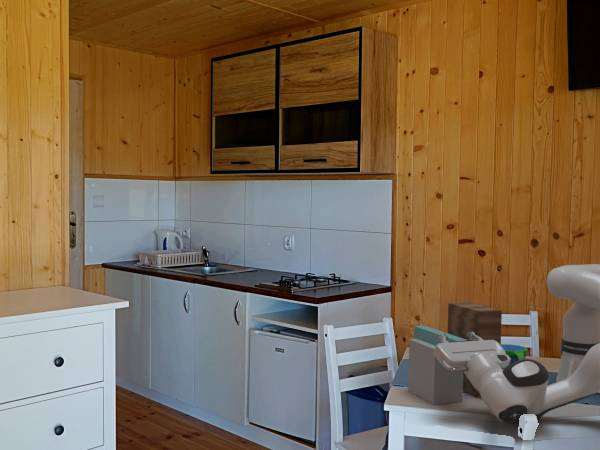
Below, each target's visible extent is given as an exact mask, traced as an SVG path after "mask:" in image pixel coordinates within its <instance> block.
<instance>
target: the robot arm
mask: <svg viewBox="0 0 600 450" xmlns="http://www.w3.org/2000/svg"><path fill="white" fill-rule="evenodd" d="M546 286H547V290H548V291H549V292H550V294H551V295H552V296H554V297H555V298H560V299H563V300H568V301H571V302H573V303H572V305H571V307H570V308H569V309H567V311H566V312H565V314H564V315H563V321H562V338H561V341H560V356H561V358H560V364H559V368H558V372H557V375H556V379H555V382H553V383H551V384H549V385H548V383H549V376H550V375H549V372H548V369H547V368H546V367H545V366H544V364H542V363H540V362H539V361H537V360H535V359H531V358H525V359H521V360H518V361H516V362H514V363H512V364H510V365H509V363H510V360H511V358H510V357H509V356H508V355H506V352H505V351H504V349H503V348H502V346H501V345H500V344H499V343H498V342H497V341H495V340H483V339H482V338H480V337H478V336H477V335H475V334H474V332H468V334H467V337H468V339H469V340H472V341H467V342H452V343H449V342H448V341H446V340H447V338H448V336H447V335H446V334H445V333H446V332H445V333H443V334H440V336H439V339H440V340H441V343H439V344H437V346H436V348H435V350H434V356H435V357H436V359H437V360H438V361H439V362H440V363H441V365H442V366H443V367H444V368H446V369H447V370H450V371H452V372H458V371H460V372H463V371H464V374H465V375H466V377H467V378H468V380H469V381H470V382H471V384H472V385H473V387H474V388H475V389H476V390H477V391H479V393H480V395H481V398H480V399H482V402H483V403H484V405H486V407H487V408H488V410H490V411H491V413H492V414H493V415H494V416H495V417H496V418H497V419H498V420H500V421H502V422H504V423H507V424H508V423H509V424H510V423H517V422H520V420H519V418H520V416H521V415H523V414H535V415H536V416H537V418H538V419H537V420H539V419H540V418H542V417H543V416H544V415H545V414H548V413H549V412H550V411H551V412H552V411H553V410H556V409H559V408H561V407H564V406H567V405H570V404H573V403H576V402H579V401H582V400H584V399H587V398H589V397H592V396H593V395H595V394H600V263H599V264H598V263H593V264H592V263H589V264H567V265H562V266H558V267H555V268H552V269H551V270H550V271H549V273H548V274H547V278H546Z"/></svg>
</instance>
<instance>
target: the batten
mask: <svg viewBox="0 0 600 450" xmlns="http://www.w3.org/2000/svg"><path fill="white" fill-rule="evenodd" d="M413 328H414V329H413V337H414V339H420V340H423V341H425V342H428V343H431V344H433V345H436V346H437V344H439V343H441V340H440V339H439V336H440V334H443V333H445V334H446V335H447V336H448V338H447V340H446V341H448V342H449V343H452V342H467V341H468V340H466V339H463V338H460V337H457V336H454V335H451V334H448V332H444V331H441V330H439V329H435V328H432V327H429V326H426V325H414V327H413Z"/></svg>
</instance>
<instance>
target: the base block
mask: <svg viewBox="0 0 600 450" xmlns="http://www.w3.org/2000/svg"><path fill="white" fill-rule="evenodd" d="M408 340H409V343H408V381H407V382H408V383H407V385H408V386H407V391H408V392H410V393H412V394H413V395H416V397H419V398H421V399H423V400H424V401H426V402H429V403H430V404H432V405H441V404H448V403H449V404H450V403H457V402H463V401H464V391H463V372H460V371H458V372H452V371H450V370H447V369H446V368H444V367H443V366H442V365H441V363H440V362H439V361H438V360H437V359H436V357H435V356H434V350H435V348H436V345H433V344H431V343H428V342H425V341H423V340H420V339H417V338H409V339H408Z"/></svg>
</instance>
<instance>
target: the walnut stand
mask: <svg viewBox="0 0 600 450" xmlns="http://www.w3.org/2000/svg"><path fill="white" fill-rule="evenodd" d="M502 313H503V311H502V310H501V309H499V308H493V307H489V306H485V305H481V304H478V303H473V302H470V301H467V302H464V301H463V302H449V303H448V310H447V314H448V315H447V333H448V334H451V335H454V336H457V337H460V338H463V339H466V340H468V341H472V340H469V339H468V337H467V334H468V332H474V334H475V335H477V336H478V337H480V338H482V339H483V340H495V341H497V342H498V343H499V344H500V345H501V342H502V319H503V317H502ZM463 393H466V394H468V395H469V396H472V397H474V398H477V399H479V398H480V399H482V398H481V395H480V393H479V391H477V390H476V389H475V388H474V387H473V385H472V384H471V382H470V381H469V380H468V378H467V377H466V375H465V374H464V371H463Z"/></svg>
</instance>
